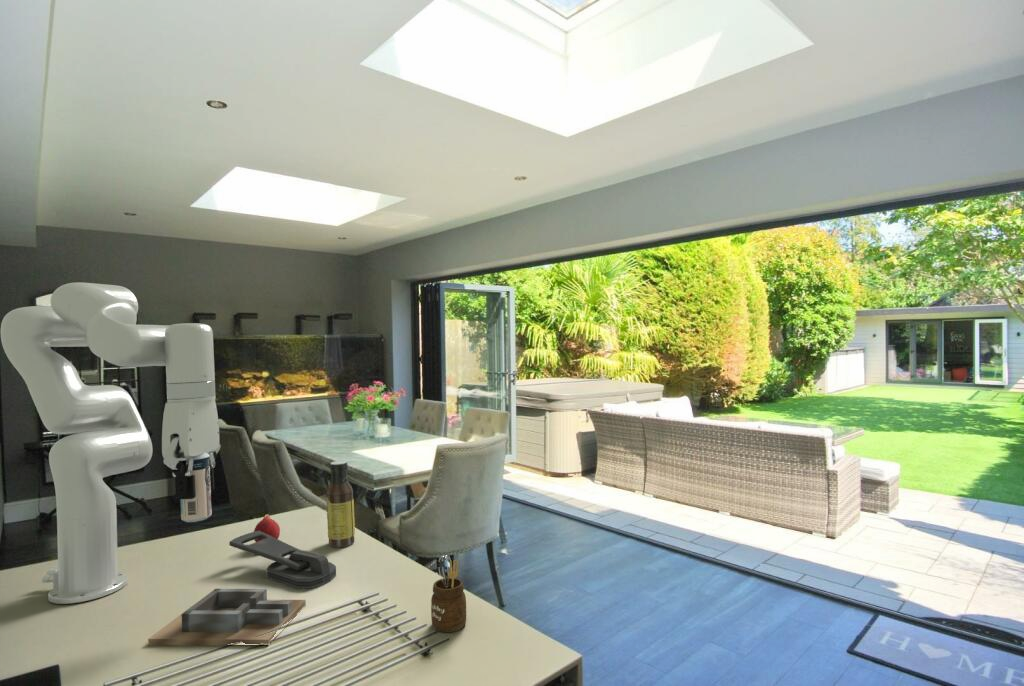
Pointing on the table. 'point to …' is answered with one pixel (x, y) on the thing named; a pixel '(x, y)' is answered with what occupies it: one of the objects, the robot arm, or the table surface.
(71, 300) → the robot arm
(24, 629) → the table surface
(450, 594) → the utensil holder
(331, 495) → the sauce bottle
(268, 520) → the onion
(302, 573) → the zipper pull
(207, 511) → the beer can
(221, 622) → the keyhole board
